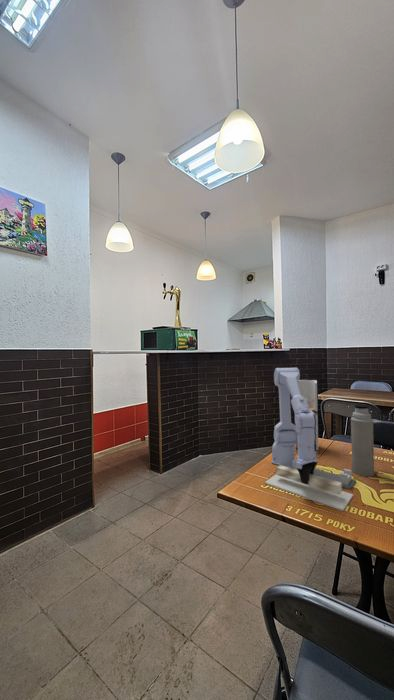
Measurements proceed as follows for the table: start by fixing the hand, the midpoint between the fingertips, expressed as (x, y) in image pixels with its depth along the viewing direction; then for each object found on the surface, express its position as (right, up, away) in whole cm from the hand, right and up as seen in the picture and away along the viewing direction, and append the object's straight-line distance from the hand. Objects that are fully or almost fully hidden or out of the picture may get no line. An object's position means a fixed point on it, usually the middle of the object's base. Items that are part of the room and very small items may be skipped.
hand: (306, 481), depth 103 cm
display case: (+16, -3, +41) cm, 44 cm away
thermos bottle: (+29, -2, +13) cm, 32 cm away
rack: (+10, -3, +10) cm, 14 cm away
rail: (0, 0, 0) cm, 0 cm away
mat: (0, -3, 0) cm, 3 cm away
